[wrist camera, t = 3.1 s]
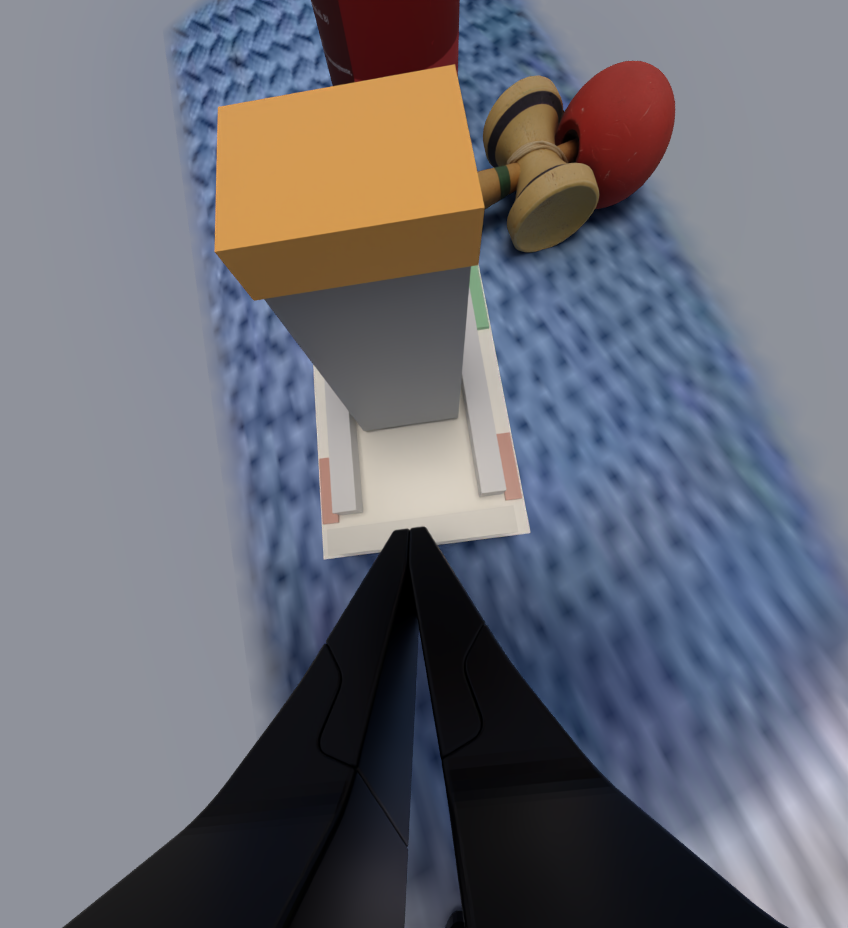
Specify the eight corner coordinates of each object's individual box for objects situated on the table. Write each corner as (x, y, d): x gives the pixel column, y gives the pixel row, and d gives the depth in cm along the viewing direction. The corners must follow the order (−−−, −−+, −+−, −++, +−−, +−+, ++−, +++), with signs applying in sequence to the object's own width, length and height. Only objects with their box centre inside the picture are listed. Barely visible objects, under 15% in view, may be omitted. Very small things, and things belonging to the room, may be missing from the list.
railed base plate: (516, 534, 17) (543, 531, 13) (344, 556, 18) (305, 562, 13) (468, 273, 21) (474, 193, 16) (326, 295, 21) (291, 223, 17)
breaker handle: (461, 421, 16) (484, 207, 6) (361, 435, 16) (214, 251, 6) (450, 355, 16) (454, 64, 6) (356, 369, 16) (218, 107, 7)
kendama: (393, 331, 22) (679, 216, 20) (351, 240, 17) (745, 62, 14) (372, 256, 25) (617, 148, 23) (330, 157, 20) (649, 0, 17)
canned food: (478, 114, 24) (502, -228, 13) (411, 191, 23) (380, -115, 12) (392, 76, 25) (352, -260, 15) (325, 147, 24) (230, -162, 14)
